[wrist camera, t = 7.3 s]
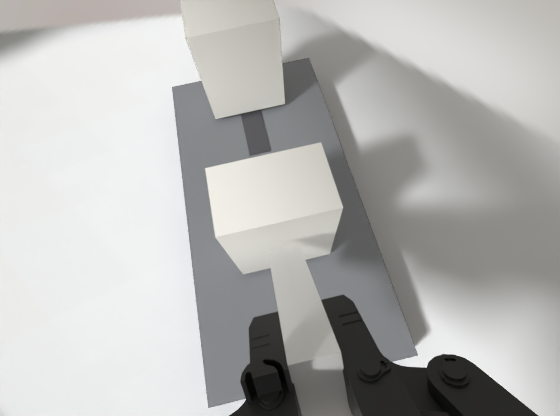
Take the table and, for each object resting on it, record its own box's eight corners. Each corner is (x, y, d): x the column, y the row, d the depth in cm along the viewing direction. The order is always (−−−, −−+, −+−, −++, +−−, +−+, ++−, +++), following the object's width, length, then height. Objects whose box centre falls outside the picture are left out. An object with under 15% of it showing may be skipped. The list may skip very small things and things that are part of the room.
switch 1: (285, 103, 26) (279, 18, 19) (215, 119, 25) (185, 38, 19) (275, 72, 27) (267, -18, 20) (209, 86, 27) (180, 0, 20)
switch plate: (407, 354, 20) (418, 355, 18) (217, 402, 20) (208, 408, 18) (300, 53, 31) (300, 33, 29) (177, 79, 31) (168, 61, 29)
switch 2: (329, 254, 20) (343, 207, 14) (243, 274, 20) (215, 237, 14) (315, 205, 22) (320, 142, 15) (234, 223, 22) (204, 168, 15)
